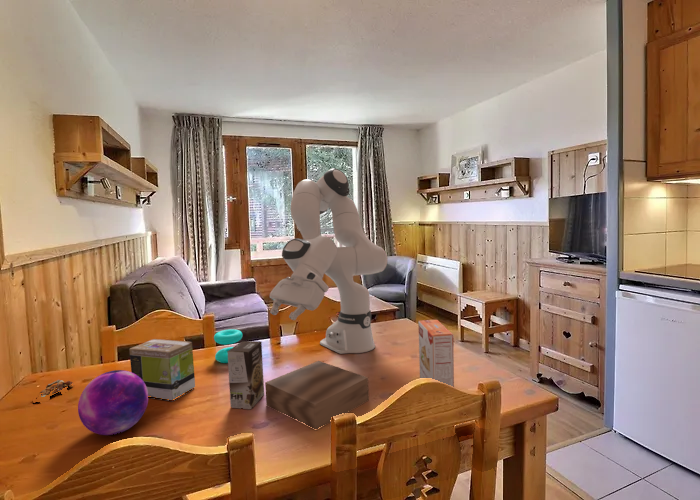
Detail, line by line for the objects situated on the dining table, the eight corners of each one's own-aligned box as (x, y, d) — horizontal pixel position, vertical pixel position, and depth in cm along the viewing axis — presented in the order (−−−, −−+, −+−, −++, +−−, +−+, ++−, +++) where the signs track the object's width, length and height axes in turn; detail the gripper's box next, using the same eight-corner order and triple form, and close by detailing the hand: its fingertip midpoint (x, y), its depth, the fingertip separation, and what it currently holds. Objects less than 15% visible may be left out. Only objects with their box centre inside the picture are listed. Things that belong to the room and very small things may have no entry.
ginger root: (26, 405, 117) (25, 394, 116) (54, 387, 129) (53, 377, 128) (51, 404, 117) (50, 392, 117) (76, 386, 129) (75, 375, 129)
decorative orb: (135, 445, 94) (129, 383, 92) (67, 450, 93) (60, 387, 91) (159, 413, 109) (155, 359, 107) (101, 417, 108) (96, 362, 106)
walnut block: (266, 406, 111) (265, 382, 111) (319, 382, 126) (318, 360, 125) (315, 432, 98) (314, 404, 97) (368, 401, 113) (368, 377, 112)
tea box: (196, 387, 124) (193, 341, 123) (172, 402, 115) (168, 352, 113) (158, 382, 129) (154, 337, 128) (131, 396, 120) (127, 347, 118)
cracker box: (418, 389, 118) (417, 319, 116) (438, 388, 119) (438, 318, 116) (432, 413, 104) (431, 334, 102) (455, 411, 105) (454, 333, 103)
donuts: (239, 326, 153) (245, 333, 144) (240, 352, 154) (246, 360, 146) (211, 331, 149) (216, 338, 140) (213, 357, 150) (218, 366, 141)
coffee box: (251, 409, 109) (248, 352, 108) (229, 408, 110) (226, 351, 109) (265, 394, 118) (262, 340, 116) (244, 393, 119) (241, 340, 118)
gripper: (279, 270, 133) (255, 305, 127) (321, 276, 119) (296, 315, 113) (291, 282, 137) (268, 316, 131) (332, 288, 123) (309, 327, 117)
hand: (281, 316), depth 122 cm, fingers open, 8 cm apart
